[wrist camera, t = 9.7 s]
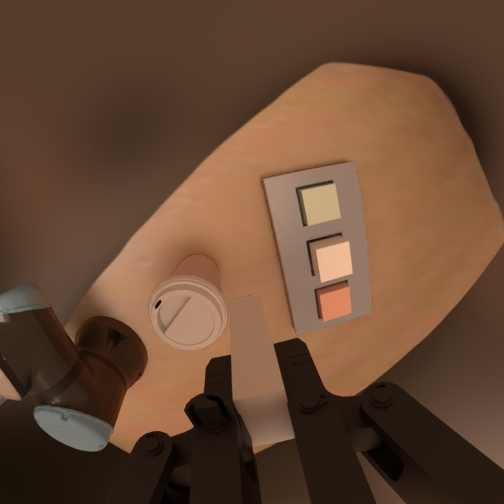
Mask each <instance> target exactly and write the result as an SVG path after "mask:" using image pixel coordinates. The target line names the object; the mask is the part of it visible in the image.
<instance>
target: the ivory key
mask: <svg viewBox="0 0 504 504" xmlns="http://www.w3.org/2000/svg"><path fill="white" fill-rule="evenodd" d="M309 246H310V252H311V258H312V264H313V270H314V274H315V276H316V277H317V278H318V279H319V281H320V282H321V283H322V282H325V281H329V280H332V279H336V278H339V277H343V276H346V275H349V274H353V272H352V262H351V253H350V245H349V241H348V240H346V239H345V238H343V237H342V236H340V235H339V236H335V237H331V238H328V239H324V240H320V241H316V242H312V243H309Z"/></svg>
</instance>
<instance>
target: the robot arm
mask: <svg viewBox="0 0 504 504" xmlns="http://www.w3.org/2000/svg"><path fill="white" fill-rule="evenodd" d="M230 329H231V355H227V356H222V357H217V358H212V359H211V360H210V362H209V363H208V365H207V367H206V373H205V386H204V393H202V394H199V395H197V396H195V397H194V398H192V399H191V400H190V401H189V402H188V403H187V404H186V407H185V409H184V411H185V413H186V415H187V416H188V418H189V419H190V421H191V422H192V424H193V426H194V427H193V428H192V429H190V430H188V431H186V432H184V433H181V434H178V435H175V436H172V437H170V436H169V435H168V434H167V433H164V432H161V431H153V432H150V433H146V434H145V435H143V436H142V437H140V439H139V440H138V441H137V442H136V444H135V446H134V448H133V450H132V451H131V453H130V455H129V457H128V459H127V461H126V463H125V465H124V467H123V468H122V471H121V472H120V474H119V476H118V478H117V480H116V482H115V484H114V486H113V488H112V489H111V491H110V493H109V495H108V497H107V499H106V501H105V503H104V504H262V499H261V491H260V484H259V476H258V469H257V460H256V457H255V455H254V453H253V448H252V443H253V445H254V447H255V446H260V445H266V444H271V443H275V442H280V441H284V440H289V439H293V438H295V439H296V443H297V447H298V451H299V455H300V459H301V463H302V467H303V471H304V475H305V479H306V483H307V487H308V491H309V495H310V500H311V503H312V504H376V502H375V499H374V497H373V494H372V492H371V489H370V487H369V484H368V482H367V479H366V477H365V474H364V472H363V470H362V467H361V465H360V462H359V460H358V457H357V455H356V453H355V452H361V453H362V455H363V456H364V457H365V458H366V459H367V460H368V462H369V463H370V464H371V465H372V466H373V467H374V468H375V470H376V471H377V472H378V473H379V474H380V475H381V476H382V477H383V479H384V480H385V481H386V482H387V483H388V484H389V485H390V486H391V488H392V489H393V490H394V491H395V492H396V493H397V494H398V495H399V496H400V497H401V498H402V499H403V501H404V502H405V503H407V504H504V470H503V469H502V468H501V467H499V466H498V465H497V464H495V463H494V462H493V461H492V460H490V459H489V458H488V457H487V456H485V455H484V454H483V453H481V452H480V451H479V450H478V449H477V448H475V447H474V446H473V445H471V444H470V443H469V442H468V441H466V440H465V439H464V438H463V437H461V436H460V435H459V434H458V433H456V432H455V431H454V430H453V429H451V428H450V427H449V426H448V425H446V424H445V423H444V422H443V421H441V420H440V419H439V418H438V417H436V416H435V415H434V414H432V413H431V412H430V411H429V410H428V409H426V408H425V407H424V406H423V405H421V404H420V403H419V402H418V401H417V400H415V399H414V398H413V397H412V396H410V395H409V394H408V393H407V392H406V391H404V390H403V389H402V388H401V387H399V386H398V385H396V384H394V383H390V382H379V383H375V384H373V385H371V386H369V387H368V388H366V389H365V390H364V391H363V393H362V395H360V396H349V397H341V396H337V395H334V394H332V393H330V392H329V391H327V390H326V389H325V387H324V385H323V383H322V381H321V378H320V376H319V374H318V371H317V369H316V366H315V364H314V362H313V360H312V357H311V355H310V353H309V350H308V348H307V345H306V343H304V342H303V341H301V340H300V339H299V338H294V339H291V340H287V341H283V342H279V343H275V344H273V341H272V337H271V334H270V330H269V326H268V322H267V318H266V314H265V310H264V306H263V302H262V298H261V294H260V293H257V294H253V295H249V296H245V297H241V298H237V299H233V300H230ZM146 365H147V352H146V349H145V346H144V344H143V342H142V341H141V339H140V338H139V337H138V335H137V334H136V333H135V332H134V331H133V330H132V329H130V328H129V327H128V326H126V325H125V324H123V323H122V322H120V321H118V320H115V319H112V318H109V317H93V318H90V319H88V320H87V321H85V322H84V323H83V325H82V326H81V327H80V328H79V330H78V331H77V334H76V337H75V344H74V343H73V342H72V340H71V339H70V337H69V336H68V334H67V333H66V331H65V330H64V328H63V326H62V325H61V323H60V322H59V320H58V318H57V316H56V315H55V313H54V311H53V310H52V306H51V304H49V303H48V302H47V300H46V298H45V297H44V295H43V294H42V292H41V290H40V289H39V287H38V286H37V285H36V284H34V283H25V284H22V285H20V286H18V287H15V288H13V289H11V290H9V291H7V292H5V293H3V294H1V295H0V405H1V403H2V402H3V401H4V400H5V399H14V400H21V399H22V398H23V397H24V396H25V395H26V394H28V395H29V396H30V397H31V398H32V400H33V401H34V402H35V403H36V404H37V406H36V407H35V409H34V417H35V419H36V421H37V423H38V424H39V426H40V427H41V428H42V429H43V430H44V431H45V432H47V433H48V434H49V435H51V436H52V437H53V438H55V439H57V440H59V441H60V442H62V443H64V444H66V445H68V446H71V447H73V448H76V449H80V450H85V451H98V450H101V449H103V448H104V447H105V446H106V445H107V442H108V440H109V438H110V436H111V434H112V433H113V429H114V426H115V423H116V420H117V417H118V414H119V411H120V408H121V405H122V402H123V400H124V397H125V394H126V391H127V390H128V389H129V388H130V387H131V386H132V385H133V384H134V383H135V382H136V381H137V380H138V379H140V377H141V376H142V375H143V373H144V370H145V368H146Z"/></svg>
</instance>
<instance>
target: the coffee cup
mask: <svg viewBox="0 0 504 504" xmlns="http://www.w3.org/2000/svg"><path fill="white" fill-rule="evenodd" d="M148 311H149V317H150V321H151V324H152V326H153V328H154V330H155V332H156V333H157V335H158V336H159V337H160V338H161V339H162V340H163V341H164V342H165V343H167V344H168V345H170V346H172V347H175V348H177V349H181V350H198V349H201V348H204V347H206V346H208V345H209V344H211V343H212V342H214V341H215V340H216V339H217V338H218V337H219V336H220V335H221V334H222V332H223V331H224V329H225V327H226V325H227V321H228V306H227V303H226V300H225V298H224V297H223V295H222V293H221V287H220V280H219V273H218V268H217V266H216V264H215V263H214V261H213V260H212V259H210V258H209V257H207V256H205V255H200V254H195V255H191V256H188V257H187V258H185V259H184V260H183V261H182V262H181V263H180V265H179V266H178V267H177V268H176V270H175V271H174V272H173V273H172V274H171V276H170V277H169V278H168V279H166V280H164V281H162V282H161V283H160V284H159V285H158V286H157V287H156V288H155V289H154V290H153V292H152V294H151V296H150V299H149V306H148Z"/></svg>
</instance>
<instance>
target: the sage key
mask: <svg viewBox="0 0 504 504" xmlns="http://www.w3.org/2000/svg"><path fill="white" fill-rule="evenodd" d="M296 194H297V198H298V203H299V208H300V213H301V218H302V222H304V223H305V224H307V225H308V226H310V225H314V224H318V223H322V222H326V221H330V220H335V219H339V218H341V215H340V209H339V203H338V197H337V191H336V186H335V184H334V183H328V182H326V183H321V184H316V185H311V186H307V187H302V188H297V189H296Z"/></svg>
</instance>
